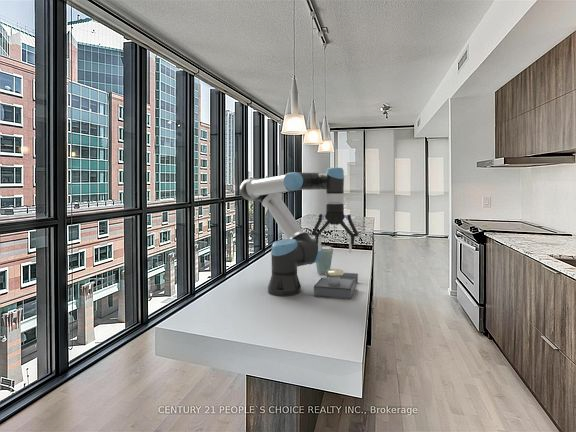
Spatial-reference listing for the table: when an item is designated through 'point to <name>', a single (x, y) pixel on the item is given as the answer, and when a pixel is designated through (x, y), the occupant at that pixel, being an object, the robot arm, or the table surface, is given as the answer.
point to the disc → (334, 272)
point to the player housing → (334, 288)
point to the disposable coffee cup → (324, 259)
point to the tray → (349, 276)
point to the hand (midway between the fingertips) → (334, 251)
